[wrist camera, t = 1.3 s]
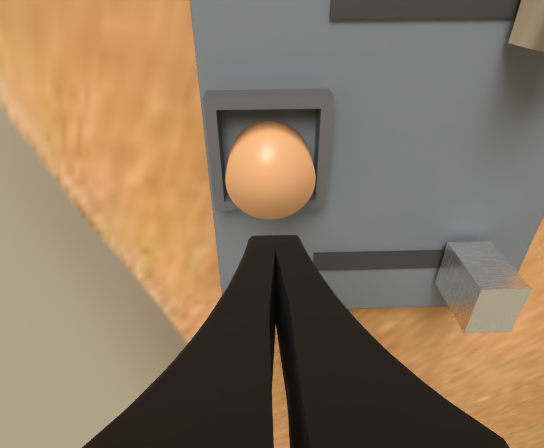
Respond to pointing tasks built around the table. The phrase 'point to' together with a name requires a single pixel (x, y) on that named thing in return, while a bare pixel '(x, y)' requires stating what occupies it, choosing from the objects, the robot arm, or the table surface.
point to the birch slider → (529, 25)
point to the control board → (379, 132)
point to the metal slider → (481, 287)
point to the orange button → (270, 171)
